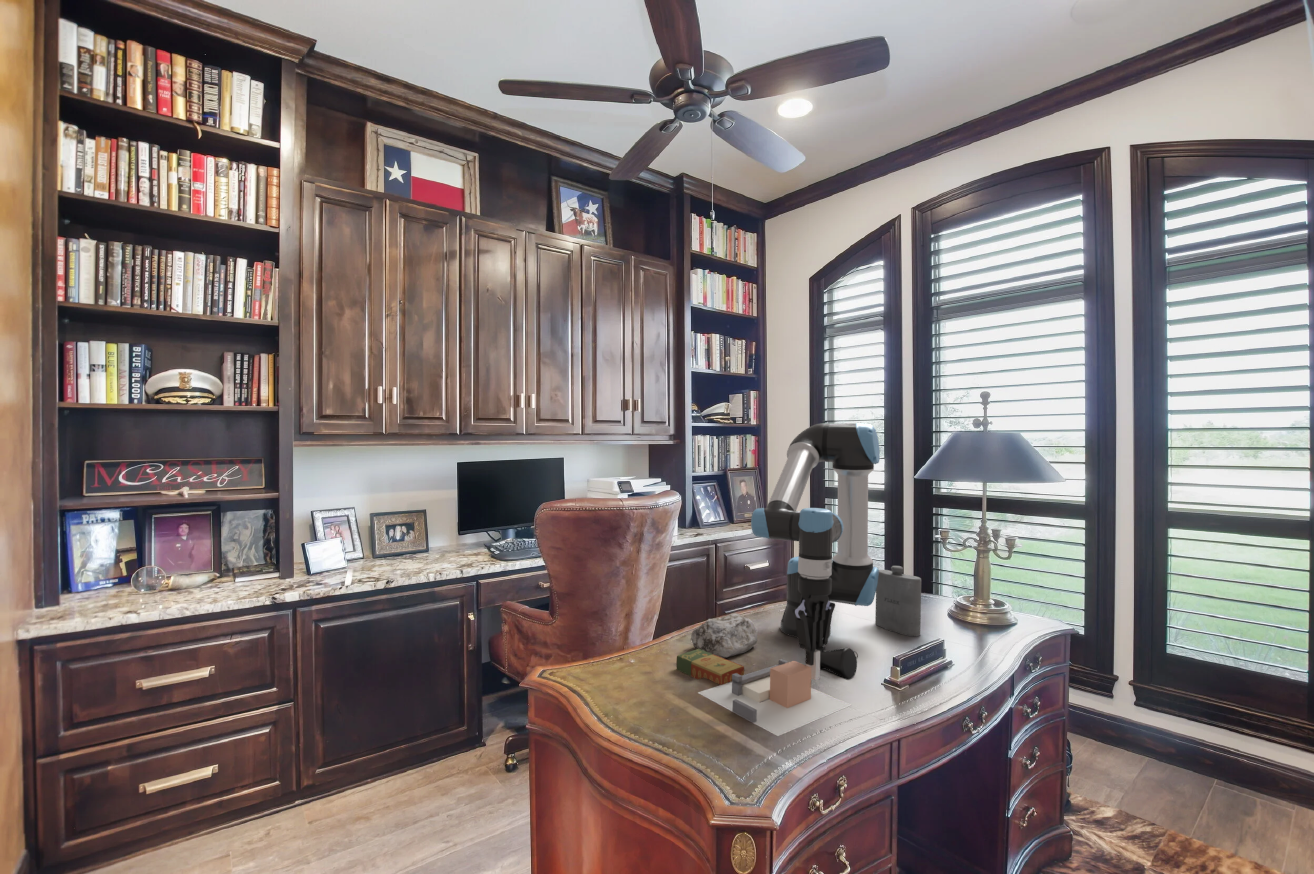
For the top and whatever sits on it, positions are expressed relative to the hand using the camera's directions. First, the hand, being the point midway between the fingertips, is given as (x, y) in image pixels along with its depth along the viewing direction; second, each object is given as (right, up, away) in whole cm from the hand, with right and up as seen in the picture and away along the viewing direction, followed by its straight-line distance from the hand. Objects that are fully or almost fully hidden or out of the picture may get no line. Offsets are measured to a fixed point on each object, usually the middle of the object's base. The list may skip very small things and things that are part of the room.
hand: (812, 677), depth 137 cm
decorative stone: (-16, -5, +31) cm, 35 cm away
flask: (+40, -6, +51) cm, 65 cm away
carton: (-23, -5, +11) cm, 26 cm away
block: (-6, -3, -5) cm, 8 cm away
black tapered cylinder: (+13, -5, +18) cm, 23 cm away
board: (-10, -4, -4) cm, 12 cm away
